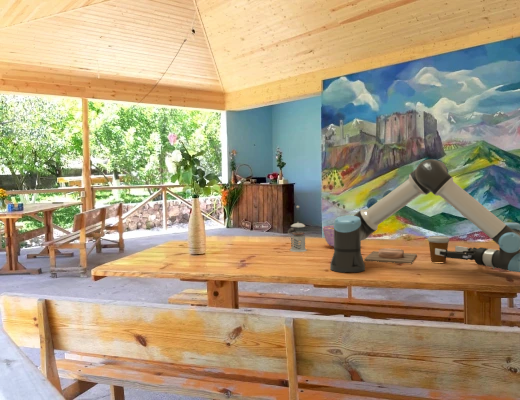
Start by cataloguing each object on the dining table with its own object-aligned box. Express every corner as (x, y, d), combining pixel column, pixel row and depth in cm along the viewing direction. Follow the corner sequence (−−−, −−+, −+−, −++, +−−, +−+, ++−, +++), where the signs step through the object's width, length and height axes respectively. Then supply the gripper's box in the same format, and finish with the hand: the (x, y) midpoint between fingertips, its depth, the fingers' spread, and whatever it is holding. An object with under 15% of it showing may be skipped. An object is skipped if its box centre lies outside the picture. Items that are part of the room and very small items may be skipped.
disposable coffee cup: (451, 264, 206) (451, 238, 205) (429, 264, 208) (429, 238, 207) (446, 260, 215) (447, 235, 215) (426, 260, 217) (426, 235, 216)
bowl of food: (323, 244, 269) (323, 224, 268) (357, 244, 265) (357, 225, 264) (321, 249, 249) (321, 229, 249) (358, 250, 245) (358, 229, 244)
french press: (299, 252, 243) (299, 206, 241) (283, 250, 251) (282, 205, 249) (310, 249, 250) (310, 205, 248) (294, 247, 258) (294, 204, 256)
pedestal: (411, 264, 208) (411, 255, 208) (364, 260, 217) (364, 252, 217) (416, 255, 228) (416, 248, 228) (373, 253, 237) (373, 245, 237)
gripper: (467, 269, 184) (426, 260, 202) (506, 262, 195) (463, 255, 214) (468, 251, 183) (426, 244, 202) (506, 245, 195) (464, 239, 214)
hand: (445, 249), depth 208 cm, fingers open, 13 cm apart
